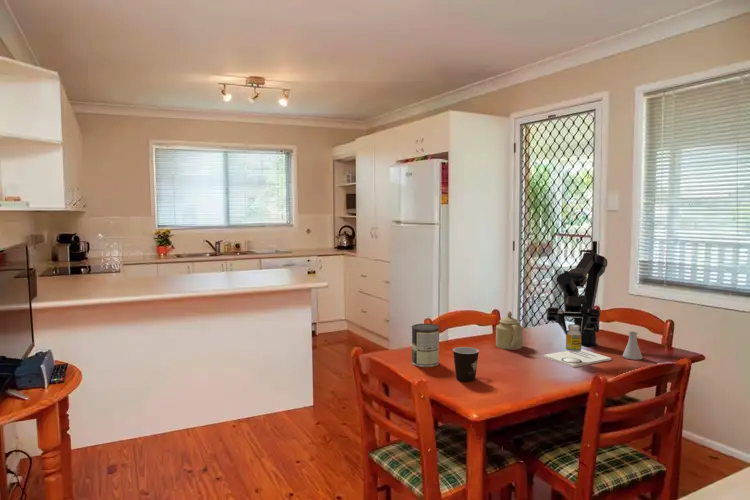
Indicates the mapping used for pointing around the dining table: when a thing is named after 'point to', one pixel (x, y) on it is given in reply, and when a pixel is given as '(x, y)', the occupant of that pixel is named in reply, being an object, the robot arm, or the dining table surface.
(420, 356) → the coffee can
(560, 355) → the notepad
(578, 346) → the supplement bottle
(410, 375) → the dining table surface
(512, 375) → the dining table surface
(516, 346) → the sugar bowl
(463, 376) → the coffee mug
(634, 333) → the flask
